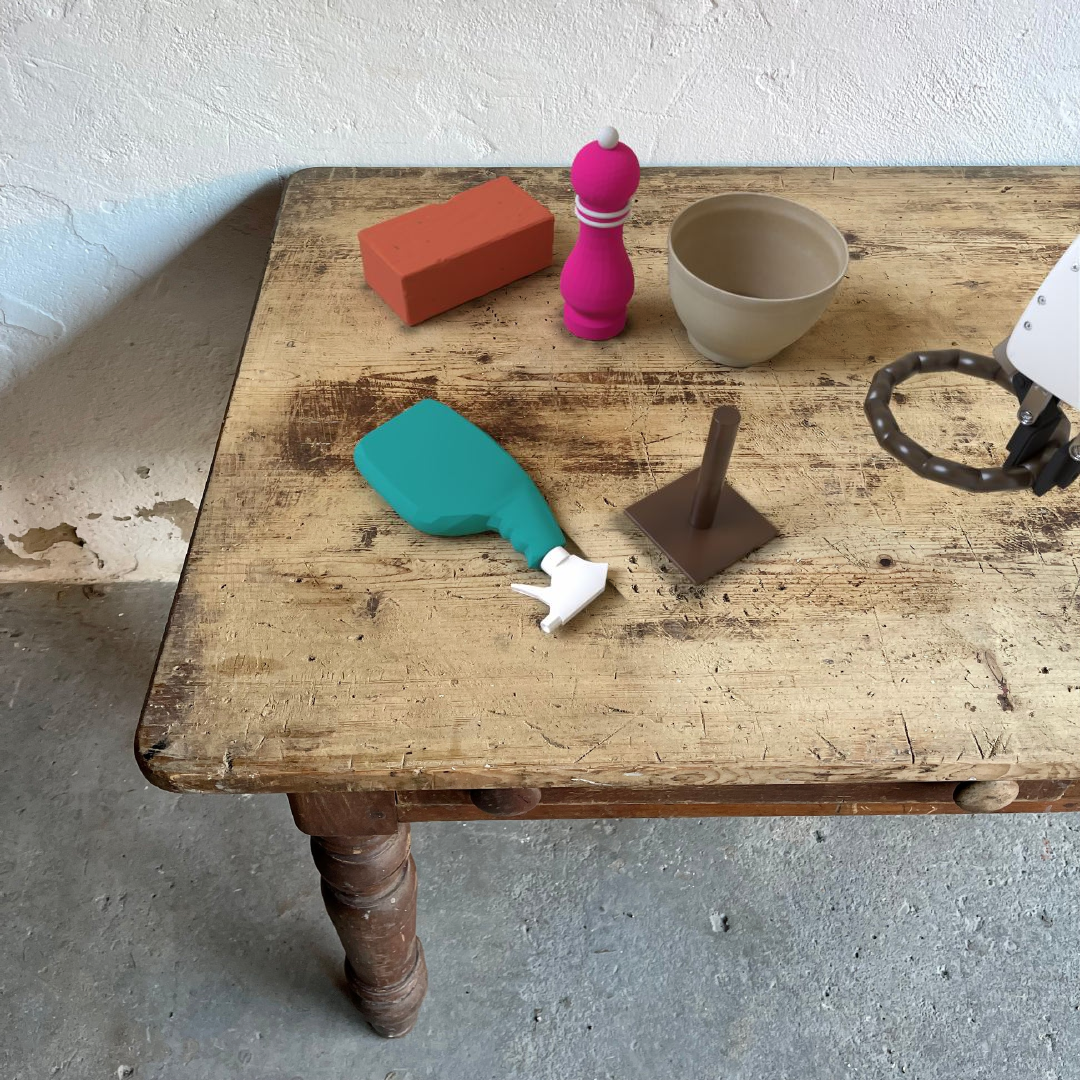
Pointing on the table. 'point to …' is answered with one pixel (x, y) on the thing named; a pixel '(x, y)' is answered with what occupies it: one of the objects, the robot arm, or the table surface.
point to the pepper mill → (600, 239)
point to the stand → (703, 511)
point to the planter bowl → (751, 273)
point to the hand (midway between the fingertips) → (1033, 473)
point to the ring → (941, 467)
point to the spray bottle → (474, 498)
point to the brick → (457, 249)
